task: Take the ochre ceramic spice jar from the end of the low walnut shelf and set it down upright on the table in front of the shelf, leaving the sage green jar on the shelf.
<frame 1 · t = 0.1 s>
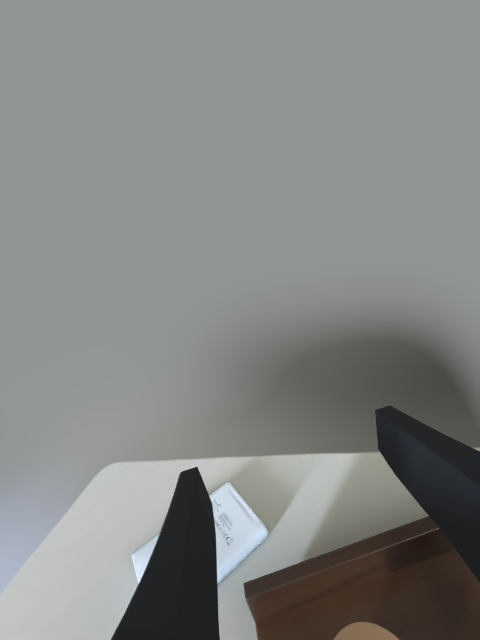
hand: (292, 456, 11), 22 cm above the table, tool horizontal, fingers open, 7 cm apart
hard drive: (202, 551, 30), on the table
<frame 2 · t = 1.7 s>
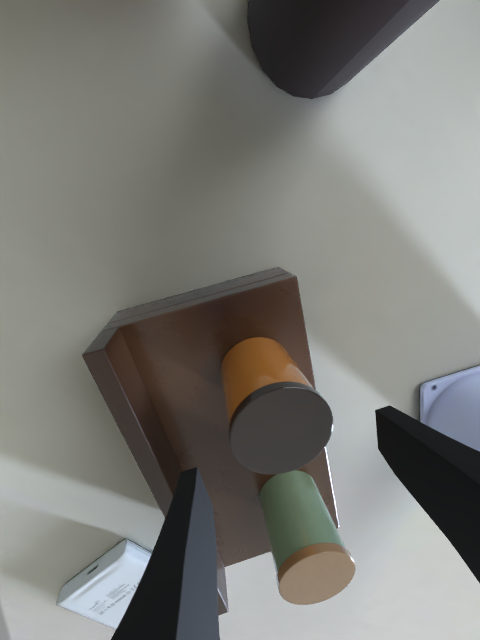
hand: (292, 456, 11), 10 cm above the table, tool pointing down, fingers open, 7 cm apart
vinegar: (307, 26, 15), on the table
spice shelf: (239, 418, 22), on the table
ochre jar: (256, 369, 17), point 3 cm above the table, touching spice shelf
hard drive: (145, 584, 28), on the table
sage jar: (287, 492, 21), point 3 cm above the table, touching spice shelf
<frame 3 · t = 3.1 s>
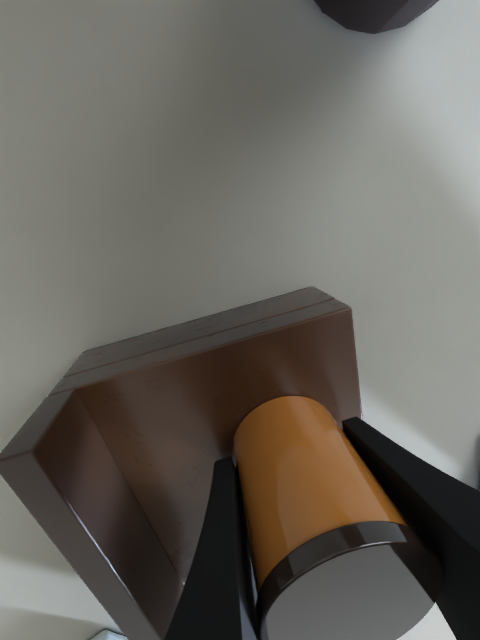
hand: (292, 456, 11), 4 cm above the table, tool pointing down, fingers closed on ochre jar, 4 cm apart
spice shelf: (253, 481, 17), on the table
ochre jar: (284, 440, 12), point 4 cm above the table, touching gripper, spice shelf
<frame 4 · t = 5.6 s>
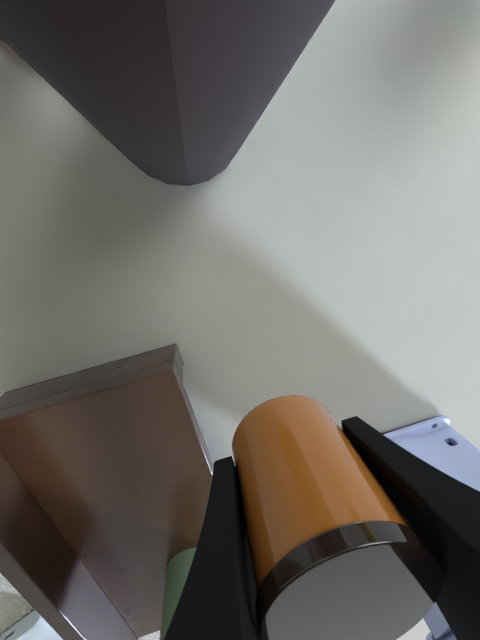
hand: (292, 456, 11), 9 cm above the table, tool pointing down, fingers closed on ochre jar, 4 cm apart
vinegar: (178, 114, 14), on the table
spice shelf: (152, 486, 22), on the table
ochre jar: (284, 439, 12), point 8 cm above the table, touching gripper
sage jar: (196, 567, 21), point 3 cm above the table, touching spice shelf
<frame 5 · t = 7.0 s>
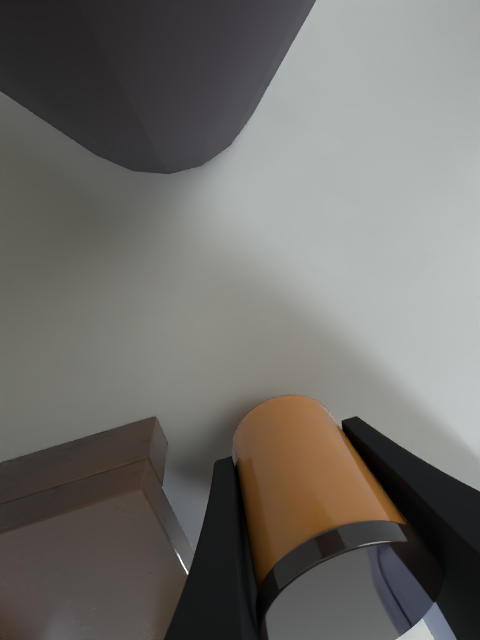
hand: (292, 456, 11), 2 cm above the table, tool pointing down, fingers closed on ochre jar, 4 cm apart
vinegar: (149, 47, 8), on the table
spice shelf: (127, 598, 16), on the table
ochre jar: (284, 439, 12), point 1 cm above the table, touching gripper
when the fingers open (1 cm above the table, at t = 8.0 s): ochre jar stays where it is, on the table.
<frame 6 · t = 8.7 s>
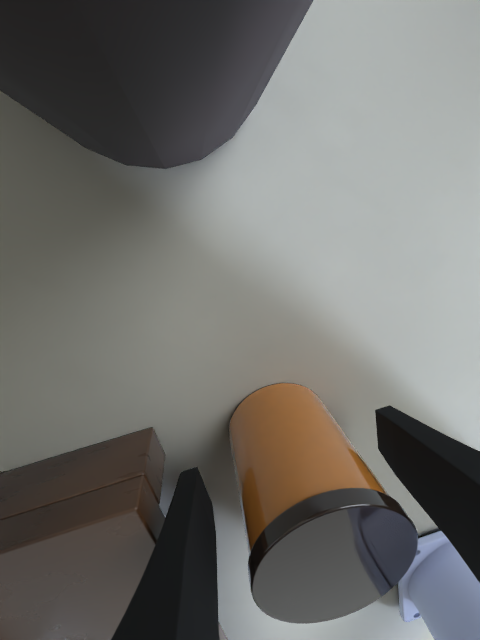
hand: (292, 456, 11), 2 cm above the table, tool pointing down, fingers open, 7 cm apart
vinegar: (143, 29, 7), on the table
spice shelf: (123, 613, 15), on the table
ochre jar: (278, 425, 12), on the table
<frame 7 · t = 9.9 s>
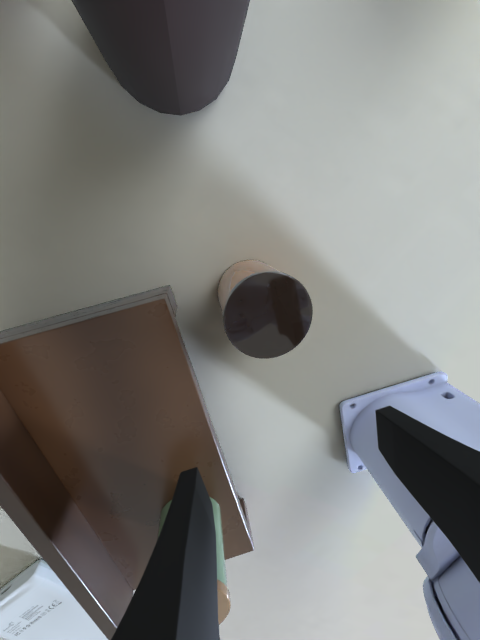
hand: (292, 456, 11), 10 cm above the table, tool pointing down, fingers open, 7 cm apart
vinegar: (170, 41, 14), on the table
spice shelf: (147, 437, 22), on the table
ochre jar: (249, 292, 19), on the table
hard drive: (69, 603, 27), on the table
sage jar: (190, 515, 21), point 3 cm above the table, touching spice shelf
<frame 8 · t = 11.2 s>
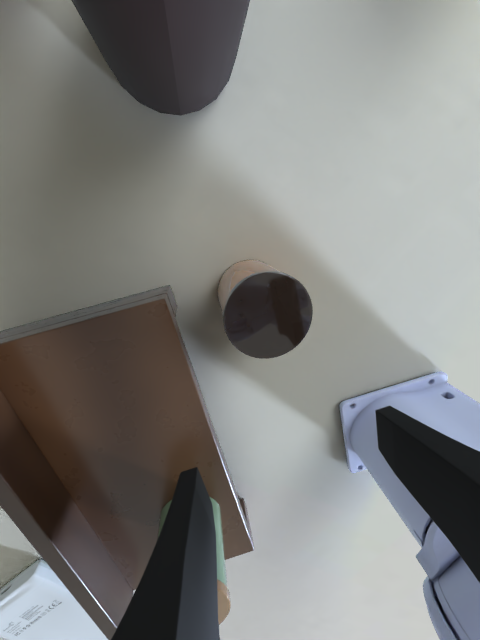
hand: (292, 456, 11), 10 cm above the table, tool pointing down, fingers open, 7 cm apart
vinegar: (170, 41, 14), on the table
spice shelf: (147, 437, 22), on the table
ochre jar: (249, 292, 19), on the table
hard drive: (69, 603, 27), on the table
sage jar: (190, 515, 21), point 3 cm above the table, touching spice shelf
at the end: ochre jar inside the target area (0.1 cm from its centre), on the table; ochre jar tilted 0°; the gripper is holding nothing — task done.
